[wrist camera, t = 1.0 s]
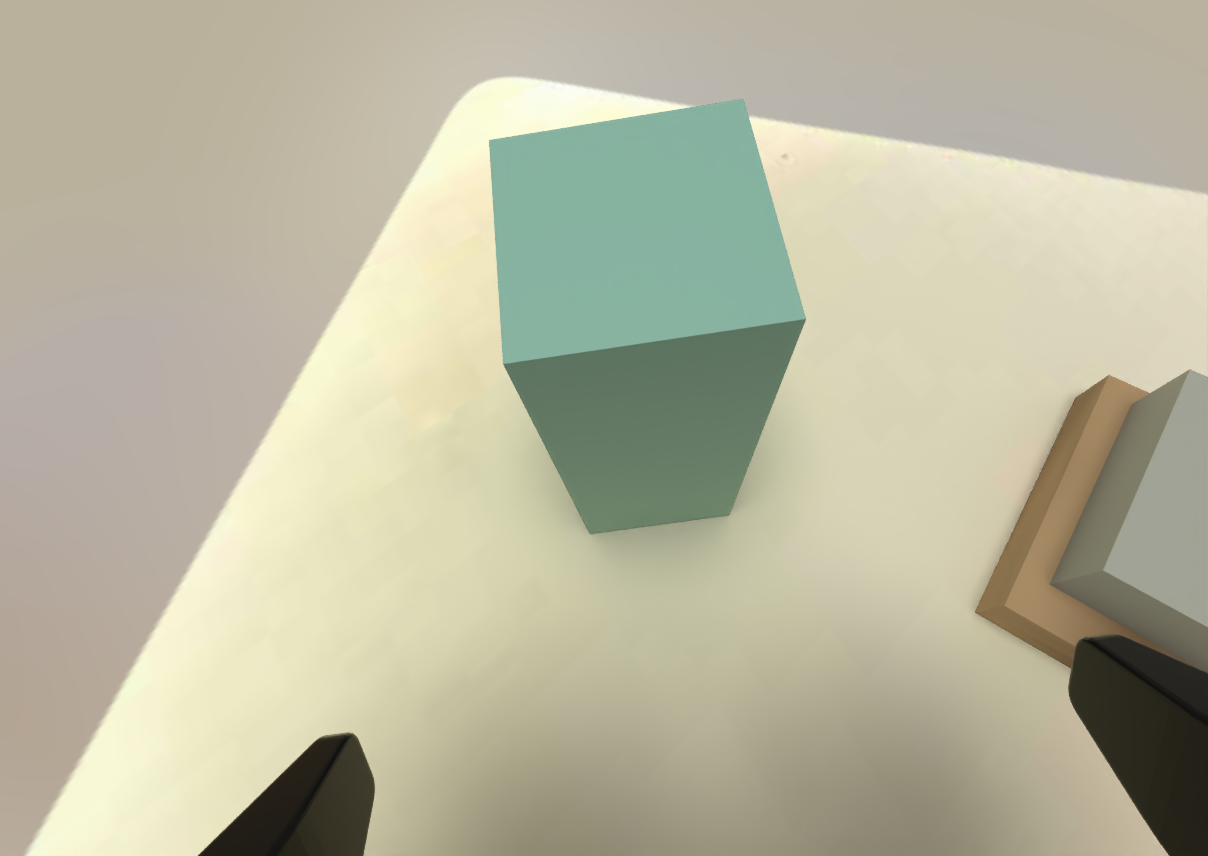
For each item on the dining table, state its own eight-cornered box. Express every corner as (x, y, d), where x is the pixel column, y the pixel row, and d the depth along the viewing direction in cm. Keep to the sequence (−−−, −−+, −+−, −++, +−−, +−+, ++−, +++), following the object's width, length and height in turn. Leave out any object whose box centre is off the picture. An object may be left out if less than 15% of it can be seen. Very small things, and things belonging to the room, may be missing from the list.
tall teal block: (729, 515, 22) (806, 318, 10) (590, 534, 22) (502, 364, 10) (704, 389, 24) (743, 98, 12) (575, 407, 24) (489, 140, 12)
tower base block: (1343, 536, 21) (1428, 518, 18) (1268, 791, 18) (1355, 807, 16) (1064, 405, 23) (1108, 374, 21) (966, 614, 21) (1004, 605, 19)
